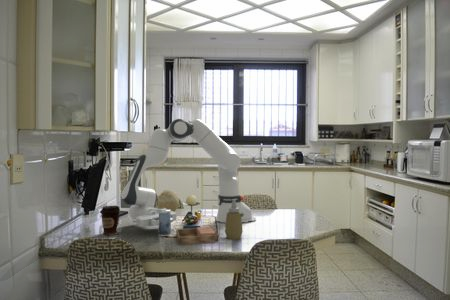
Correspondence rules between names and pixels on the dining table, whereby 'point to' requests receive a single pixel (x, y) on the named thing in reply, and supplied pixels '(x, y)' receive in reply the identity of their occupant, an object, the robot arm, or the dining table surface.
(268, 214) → the dining table surface
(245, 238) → the dining table surface
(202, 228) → the pasta box
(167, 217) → the tin can
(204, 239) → the crate
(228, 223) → the squeeze bottle
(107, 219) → the coffee cup
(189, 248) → the dining table surface
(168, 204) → the fossilized egg
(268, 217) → the dining table surface
